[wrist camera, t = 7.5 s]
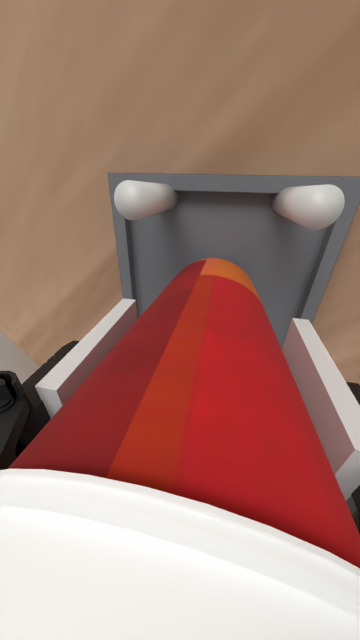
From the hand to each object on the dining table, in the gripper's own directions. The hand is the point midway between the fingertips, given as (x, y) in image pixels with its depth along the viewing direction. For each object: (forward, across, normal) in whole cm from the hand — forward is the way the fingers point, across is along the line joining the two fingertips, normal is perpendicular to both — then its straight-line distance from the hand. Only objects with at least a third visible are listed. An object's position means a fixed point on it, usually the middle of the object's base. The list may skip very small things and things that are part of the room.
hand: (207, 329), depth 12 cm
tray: (+6, 0, 0) cm, 6 cm away
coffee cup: (+4, 0, 0) cm, 4 cm away
